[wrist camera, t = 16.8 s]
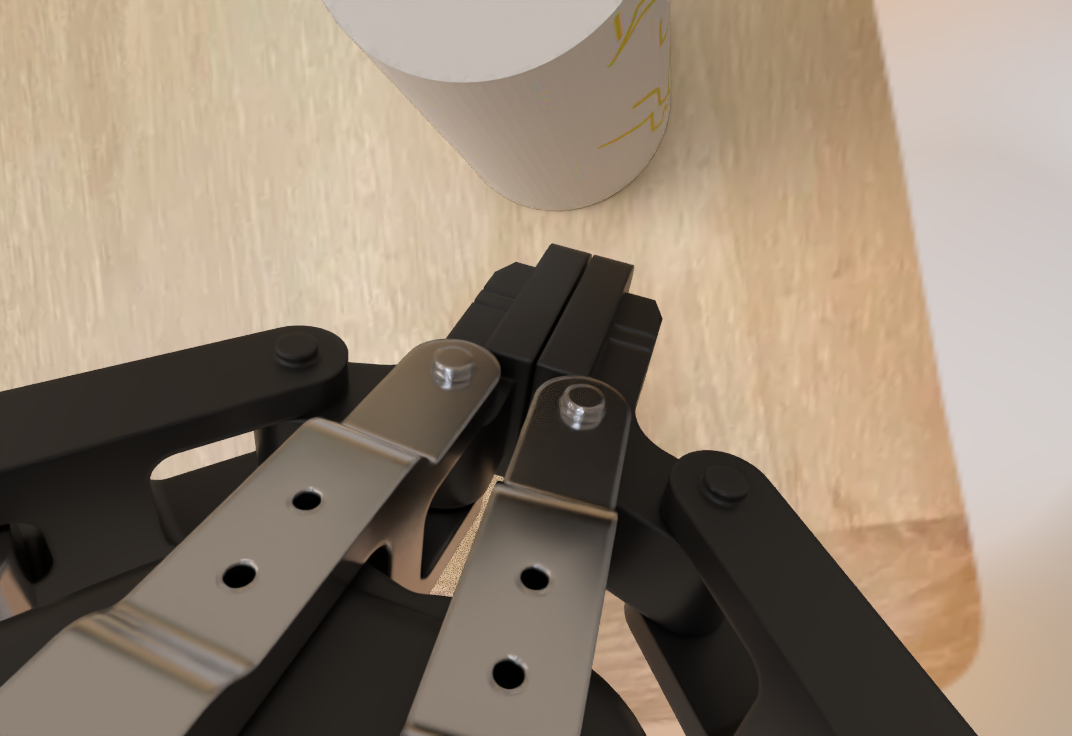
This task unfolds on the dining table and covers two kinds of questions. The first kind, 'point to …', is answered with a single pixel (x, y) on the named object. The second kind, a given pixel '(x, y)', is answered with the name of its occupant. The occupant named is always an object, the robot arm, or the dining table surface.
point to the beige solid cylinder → (529, 86)
